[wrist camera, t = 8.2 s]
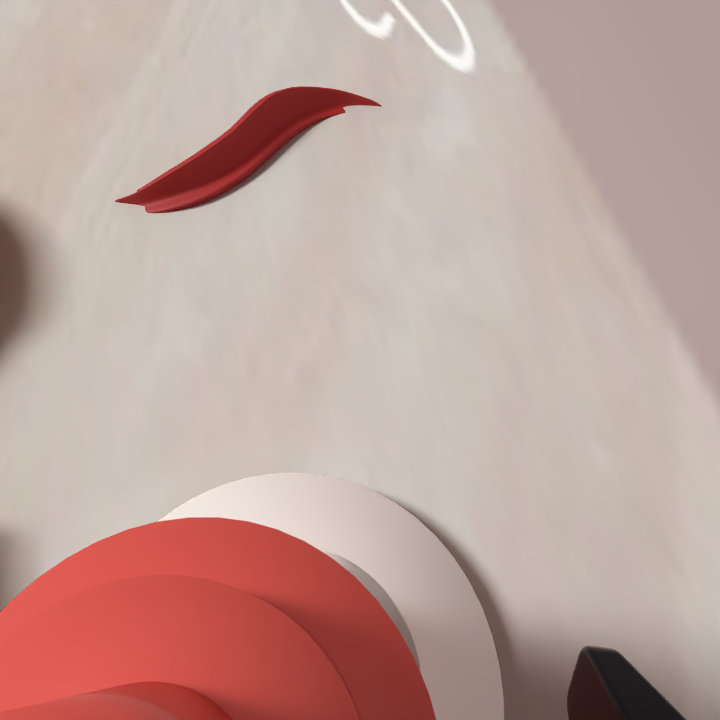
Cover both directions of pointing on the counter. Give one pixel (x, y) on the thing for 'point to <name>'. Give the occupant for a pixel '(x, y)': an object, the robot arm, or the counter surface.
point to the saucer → (382, 575)
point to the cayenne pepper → (242, 147)
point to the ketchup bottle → (204, 633)
